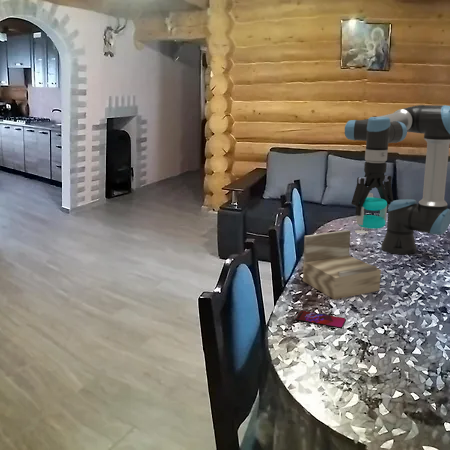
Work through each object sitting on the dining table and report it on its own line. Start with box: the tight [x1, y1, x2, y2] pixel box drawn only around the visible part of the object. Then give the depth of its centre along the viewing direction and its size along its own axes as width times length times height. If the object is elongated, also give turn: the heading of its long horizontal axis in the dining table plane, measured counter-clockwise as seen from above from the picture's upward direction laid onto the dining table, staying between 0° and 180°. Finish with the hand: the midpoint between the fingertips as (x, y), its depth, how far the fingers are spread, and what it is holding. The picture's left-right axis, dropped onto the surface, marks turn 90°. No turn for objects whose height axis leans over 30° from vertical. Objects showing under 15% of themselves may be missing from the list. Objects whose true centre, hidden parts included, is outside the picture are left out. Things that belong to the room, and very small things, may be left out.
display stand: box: [302, 229, 382, 300], centre depth 193 cm, size 20×20×18 cm
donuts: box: [357, 196, 387, 230], centre depth 189 cm, size 10×10×10 cm
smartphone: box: [294, 310, 347, 329], centre depth 167 cm, size 8×1×15 cm
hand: (371, 222), depth 190 cm, fingers closed on donuts, 10 cm apart
